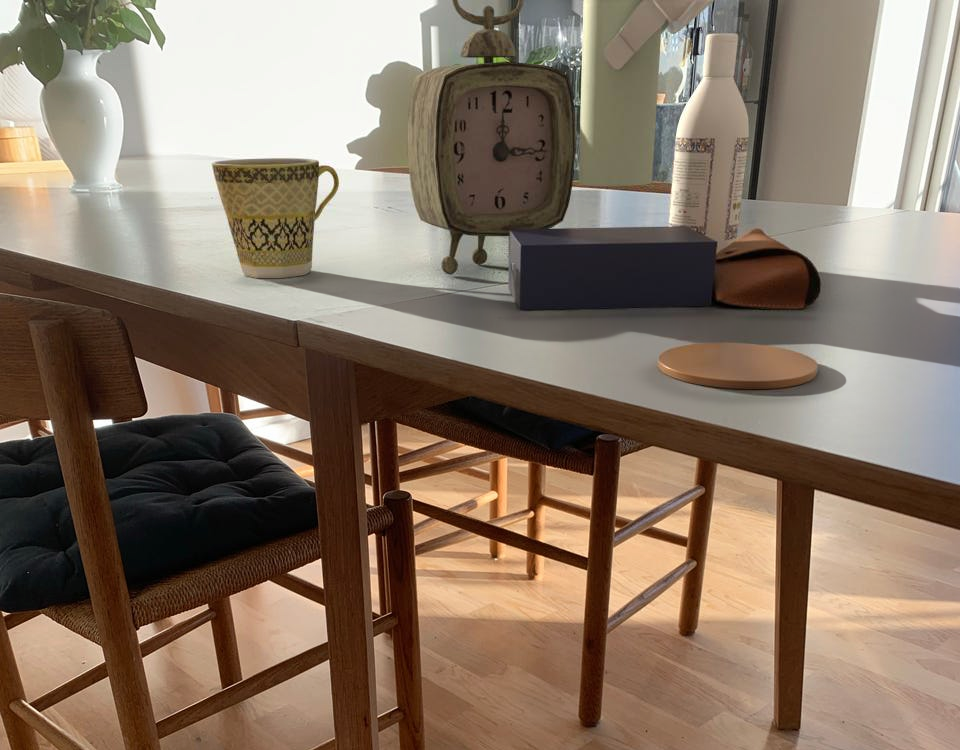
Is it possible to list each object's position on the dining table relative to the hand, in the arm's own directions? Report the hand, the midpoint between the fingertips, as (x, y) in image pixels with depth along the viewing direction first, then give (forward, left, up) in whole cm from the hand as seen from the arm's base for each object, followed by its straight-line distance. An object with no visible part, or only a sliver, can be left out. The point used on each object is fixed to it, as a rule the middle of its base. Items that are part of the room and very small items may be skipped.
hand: (612, 64), depth 74 cm
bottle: (-1, 0, -8) cm, 8 cm away
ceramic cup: (+29, -17, -18) cm, 38 cm away
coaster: (-4, +25, -17) cm, 31 cm away
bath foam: (-13, -17, -18) cm, 28 cm away
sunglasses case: (-14, -2, -18) cm, 22 cm away
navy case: (0, 0, -17) cm, 17 cm away
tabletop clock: (+9, -17, -18) cm, 26 cm away
